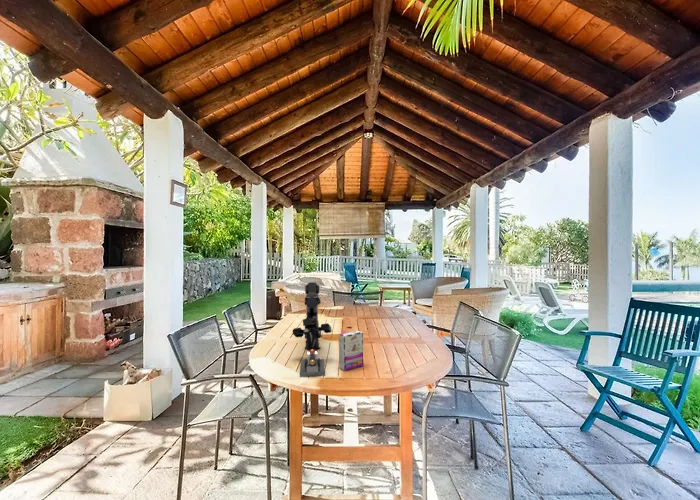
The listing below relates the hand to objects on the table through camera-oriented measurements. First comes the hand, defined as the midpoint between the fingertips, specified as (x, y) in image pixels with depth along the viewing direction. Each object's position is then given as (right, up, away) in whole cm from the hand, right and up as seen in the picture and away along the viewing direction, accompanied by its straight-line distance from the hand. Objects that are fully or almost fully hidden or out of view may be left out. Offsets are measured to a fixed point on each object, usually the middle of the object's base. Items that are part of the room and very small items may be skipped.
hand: (312, 347), depth 165 cm
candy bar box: (+19, -9, -4) cm, 21 cm away
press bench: (+1, -8, -8) cm, 12 cm away
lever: (+1, -6, -8) cm, 10 cm away
